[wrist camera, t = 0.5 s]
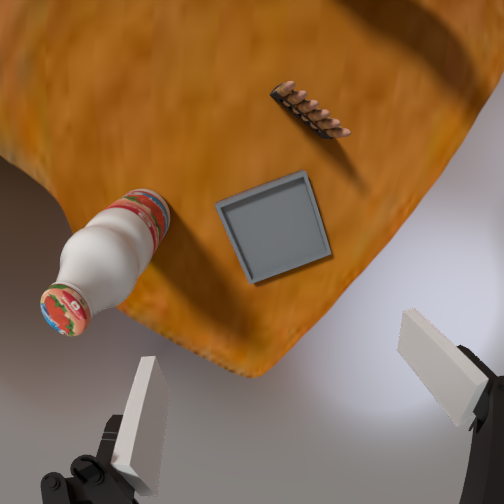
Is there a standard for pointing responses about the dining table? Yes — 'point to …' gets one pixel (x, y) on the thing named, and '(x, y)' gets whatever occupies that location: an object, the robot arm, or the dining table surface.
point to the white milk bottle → (105, 260)
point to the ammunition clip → (308, 111)
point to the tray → (274, 226)
